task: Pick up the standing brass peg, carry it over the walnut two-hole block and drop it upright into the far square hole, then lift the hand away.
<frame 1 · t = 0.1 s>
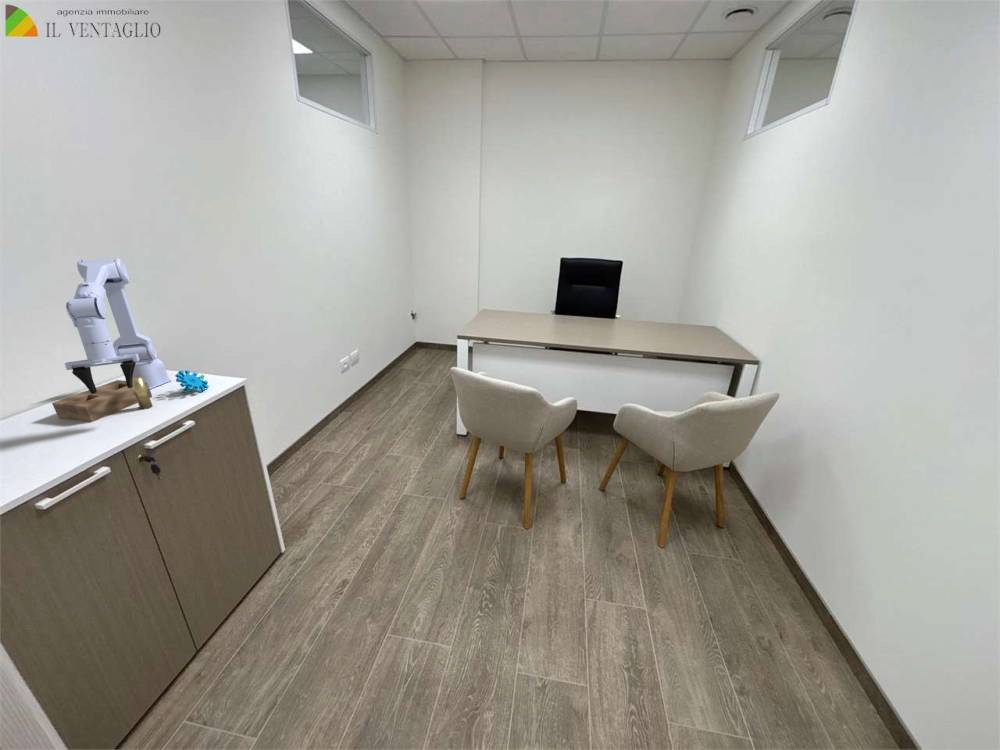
hand: (112, 390, 111), 10 cm above the table, tool pointing down, fingers open, 7 cm apart
peg: (146, 407, 124), on the table
hole block: (108, 406, 125), on the table
gear: (196, 391, 137), on the table
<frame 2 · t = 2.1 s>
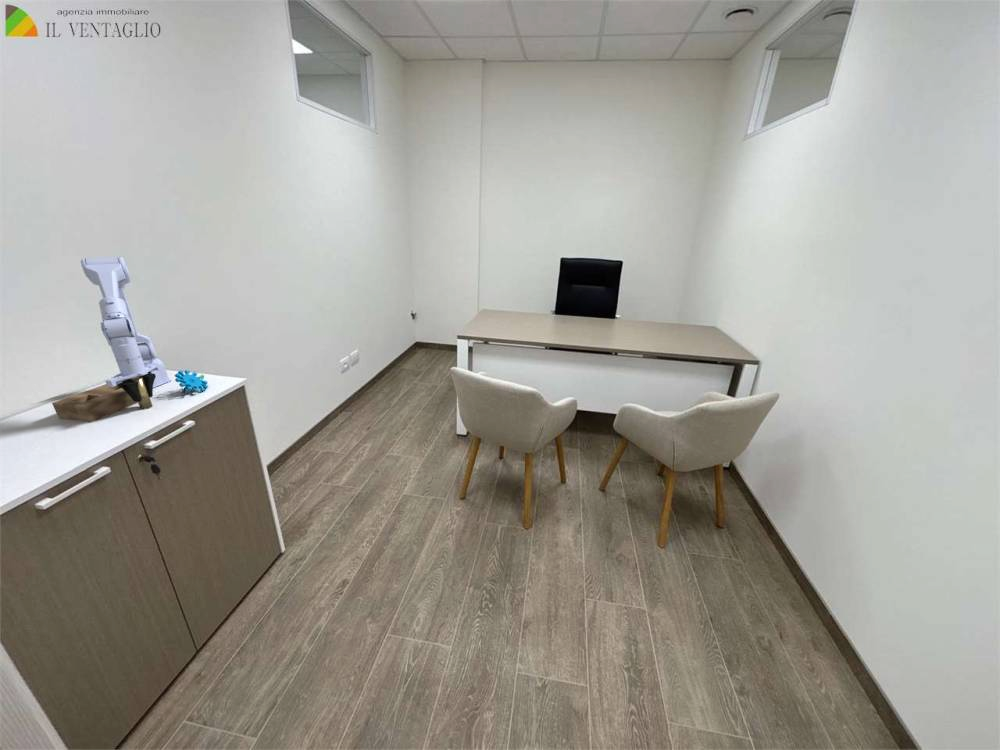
hand: (143, 398, 123), 3 cm above the table, tool pointing down, fingers closed on peg, 3 cm apart
peg: (146, 407, 124), on the table, touching gripper
everything else where it was.
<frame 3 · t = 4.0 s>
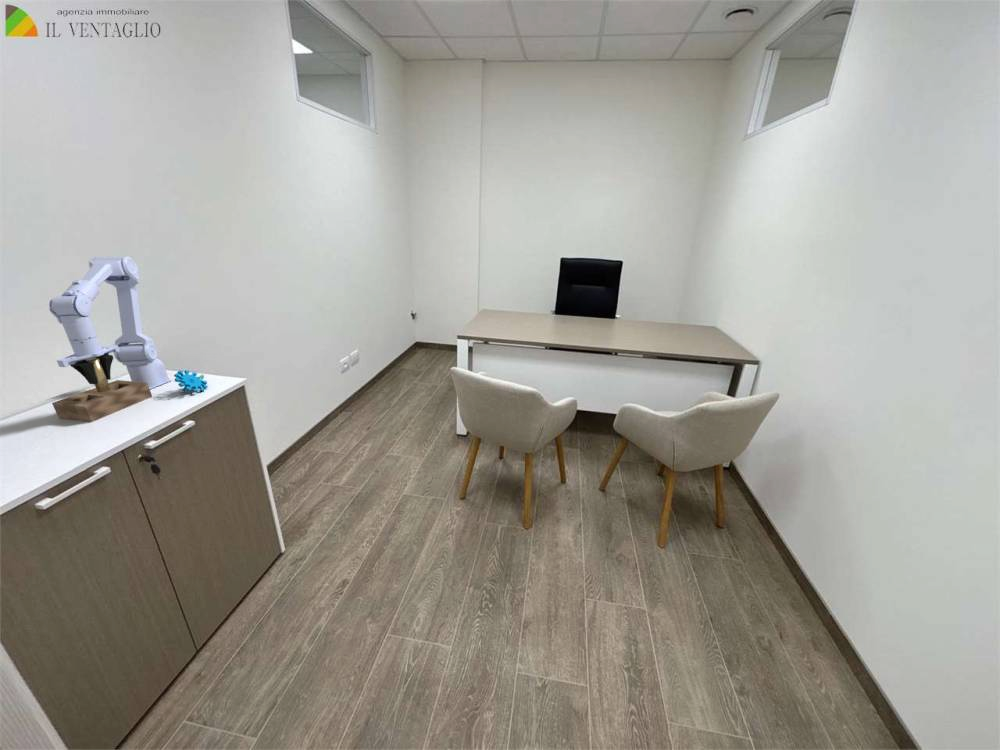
hand: (100, 381, 118), 10 cm above the table, tool pointing down, fingers closed on peg, 3 cm apart
peg: (104, 390, 119), point 7 cm above the table, touching gripper
everything else where it was.
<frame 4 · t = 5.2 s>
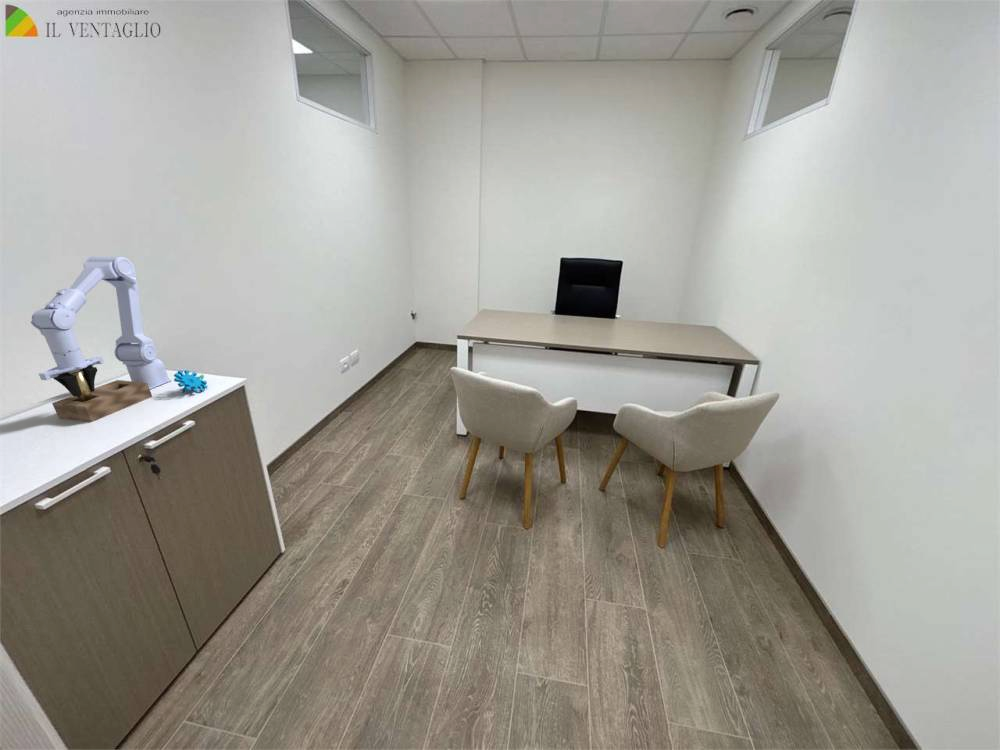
hand: (84, 393, 118), 7 cm above the table, tool pointing down, fingers closed on peg, 3 cm apart
peg: (87, 402, 119), point 4 cm above the table, touching gripper
everything else where it was.
when the fingers open (6 cm above the table, at t = 6.1 s): peg drops 3 cm, resting in hole block.
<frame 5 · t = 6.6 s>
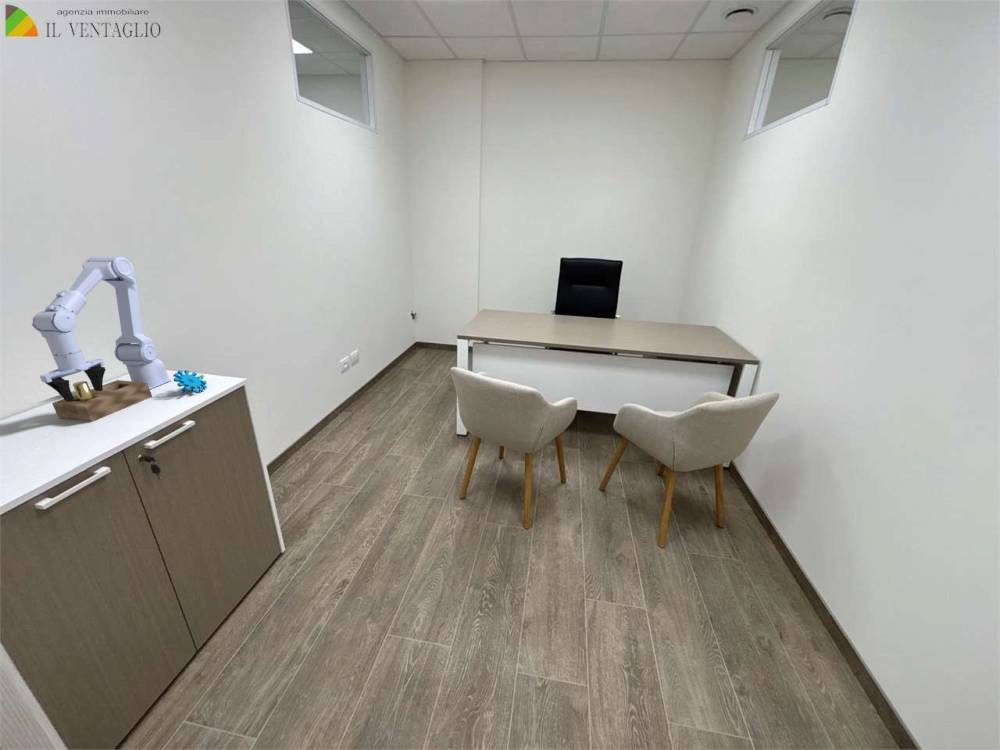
hand: (84, 395, 118), 6 cm above the table, tool pointing down, fingers open, 7 cm apart
peg: (92, 413, 120), resting in hole block
everything else where it was.
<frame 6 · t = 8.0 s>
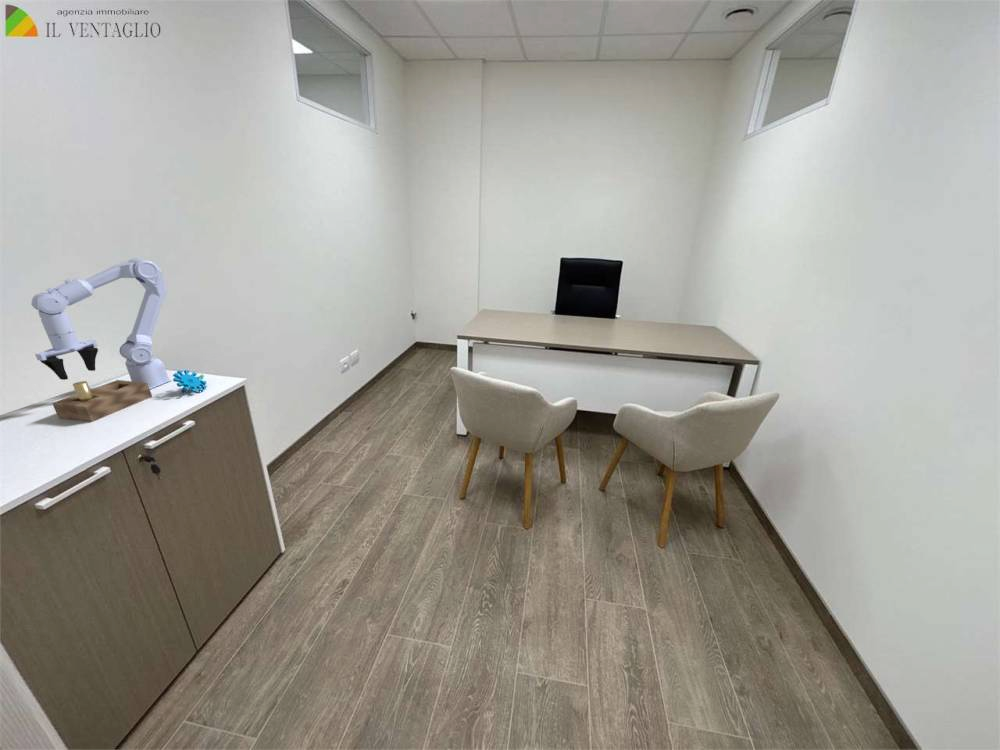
hand: (78, 374, 124), 9 cm above the table, tool pointing down, fingers open, 7 cm apart
nothing on the table moved.
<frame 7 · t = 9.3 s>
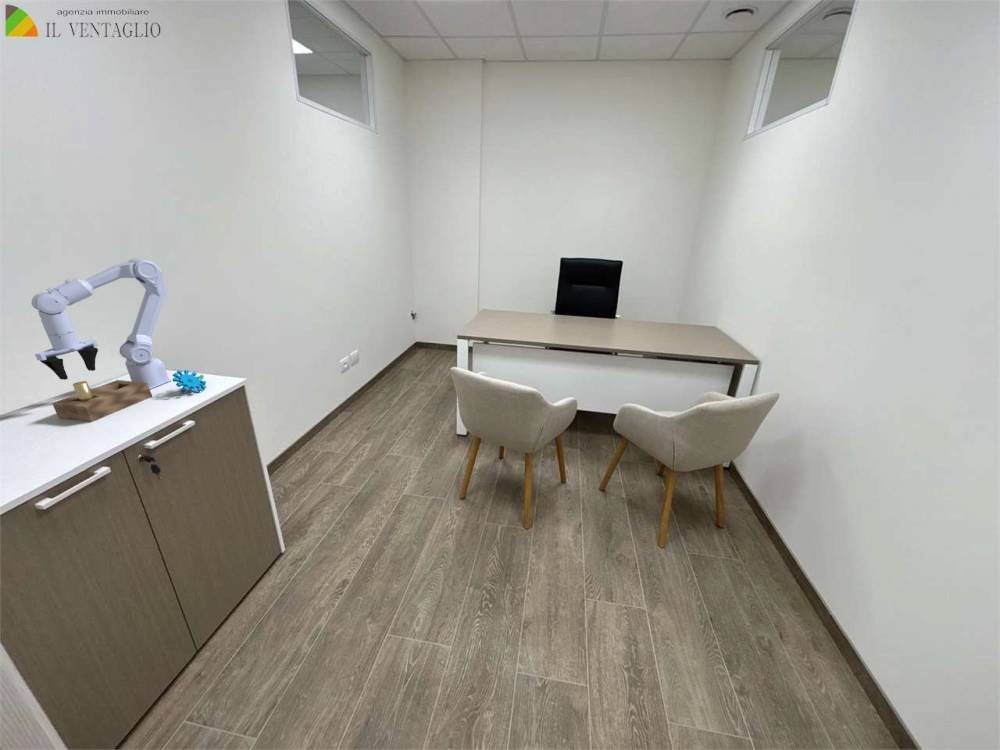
hand: (78, 374, 124), 9 cm above the table, tool pointing down, fingers open, 7 cm apart
nothing on the table moved.
at the end: peg 0.1 cm from the target spot on the hole block, point 0.0 cm above the hole block's base; peg tilted 0°; the gripper is holding nothing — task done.
